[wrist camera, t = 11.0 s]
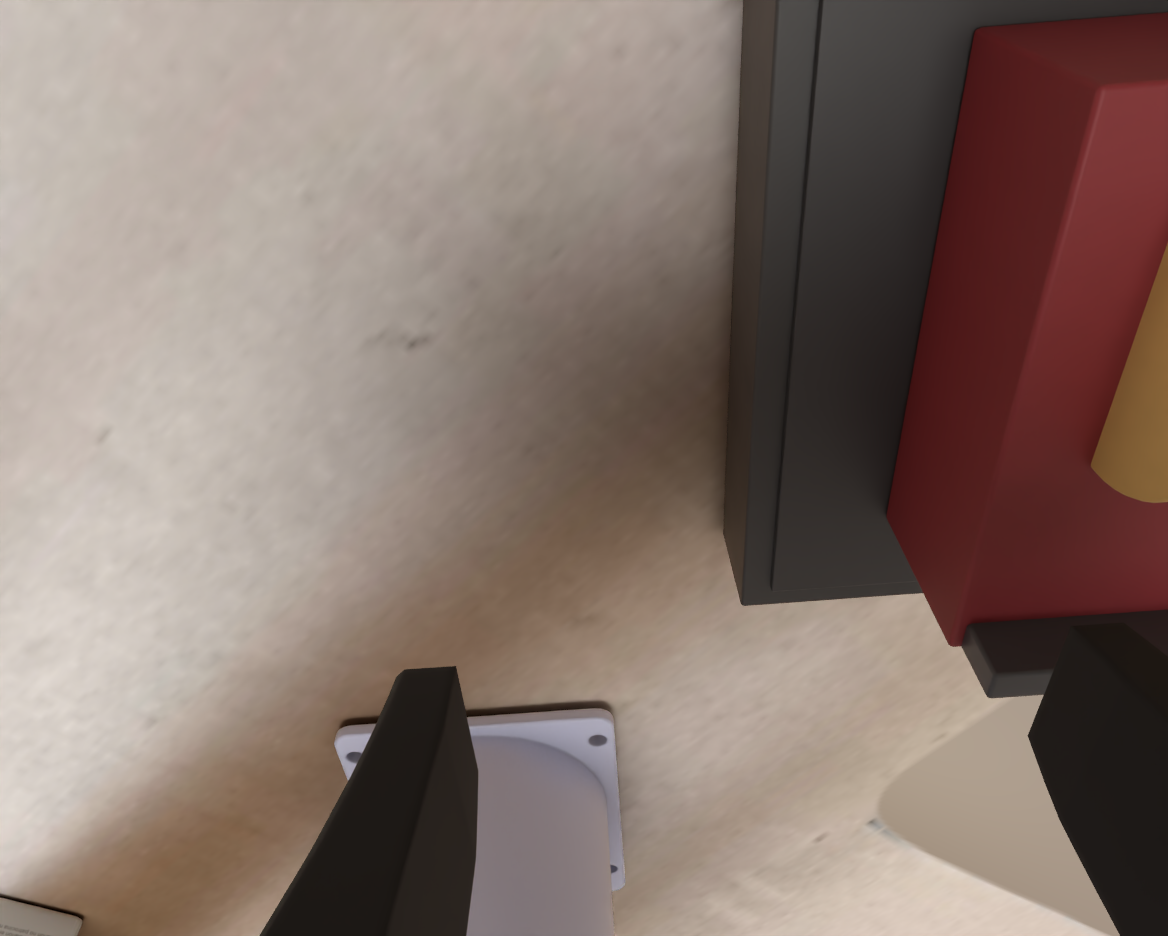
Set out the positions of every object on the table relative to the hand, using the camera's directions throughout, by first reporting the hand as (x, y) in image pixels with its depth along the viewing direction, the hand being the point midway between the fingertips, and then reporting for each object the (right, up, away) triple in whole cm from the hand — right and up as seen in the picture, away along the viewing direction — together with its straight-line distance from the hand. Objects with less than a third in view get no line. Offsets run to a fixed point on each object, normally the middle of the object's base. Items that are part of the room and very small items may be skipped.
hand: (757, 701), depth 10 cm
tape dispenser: (+6, +6, +4) cm, 9 cm away
